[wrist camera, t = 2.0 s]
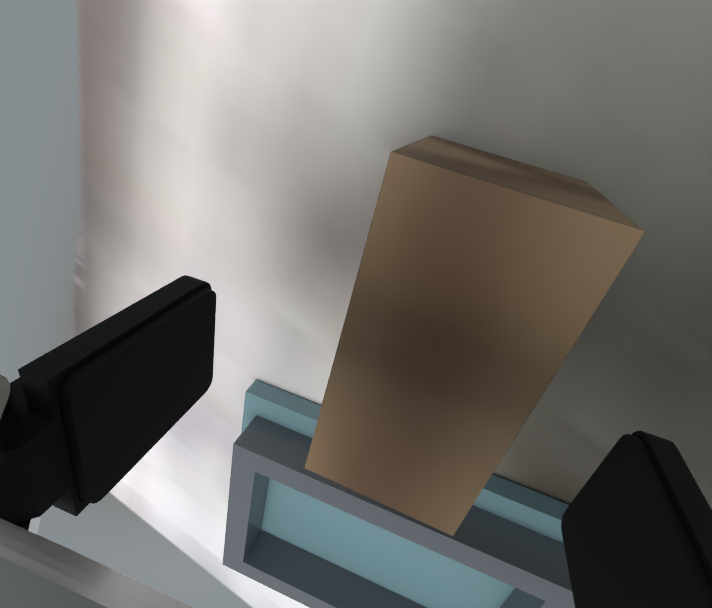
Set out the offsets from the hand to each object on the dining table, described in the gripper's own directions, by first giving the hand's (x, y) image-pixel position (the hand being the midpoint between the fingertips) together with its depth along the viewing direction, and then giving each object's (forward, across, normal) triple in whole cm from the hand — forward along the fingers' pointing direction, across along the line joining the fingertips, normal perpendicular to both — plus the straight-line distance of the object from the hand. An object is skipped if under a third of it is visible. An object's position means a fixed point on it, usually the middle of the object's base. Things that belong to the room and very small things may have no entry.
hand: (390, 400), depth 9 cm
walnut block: (+7, -1, 0) cm, 7 cm away
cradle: (+7, -2, +14) cm, 16 cm away
